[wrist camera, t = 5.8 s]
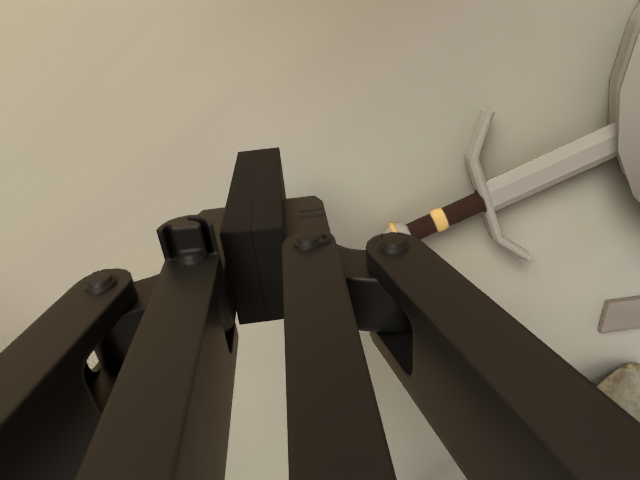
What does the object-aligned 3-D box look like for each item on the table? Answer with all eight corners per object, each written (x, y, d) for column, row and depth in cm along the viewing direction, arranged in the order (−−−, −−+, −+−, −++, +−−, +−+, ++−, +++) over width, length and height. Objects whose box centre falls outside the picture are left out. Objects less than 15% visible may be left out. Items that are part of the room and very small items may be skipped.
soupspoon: (649, 397, 32) (628, 335, 29) (690, 436, 28) (671, 370, 26) (377, 530, 34) (335, 484, 32) (388, 578, 31) (342, 531, 29)
